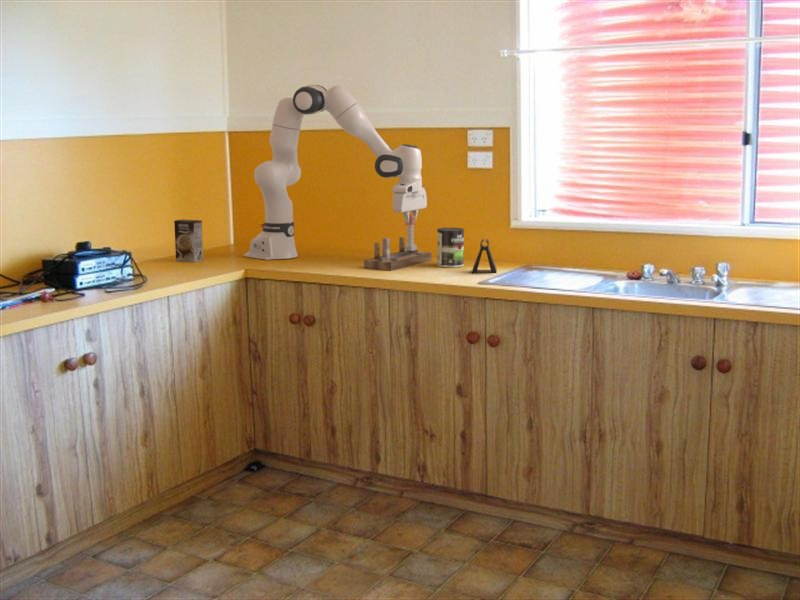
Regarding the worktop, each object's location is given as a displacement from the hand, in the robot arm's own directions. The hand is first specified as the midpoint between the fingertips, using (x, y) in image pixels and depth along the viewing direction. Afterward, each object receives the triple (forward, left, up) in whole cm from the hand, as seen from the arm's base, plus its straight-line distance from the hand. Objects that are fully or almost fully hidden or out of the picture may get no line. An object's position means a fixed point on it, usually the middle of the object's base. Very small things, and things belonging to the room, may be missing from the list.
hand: (410, 222), depth 385 cm
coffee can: (+19, -2, -16) cm, 25 cm away
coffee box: (-76, -44, -16) cm, 89 cm away
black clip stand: (+37, -9, -16) cm, 41 cm away
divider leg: (0, 0, -11) cm, 11 cm away
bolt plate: (0, -9, -15) cm, 18 cm away
